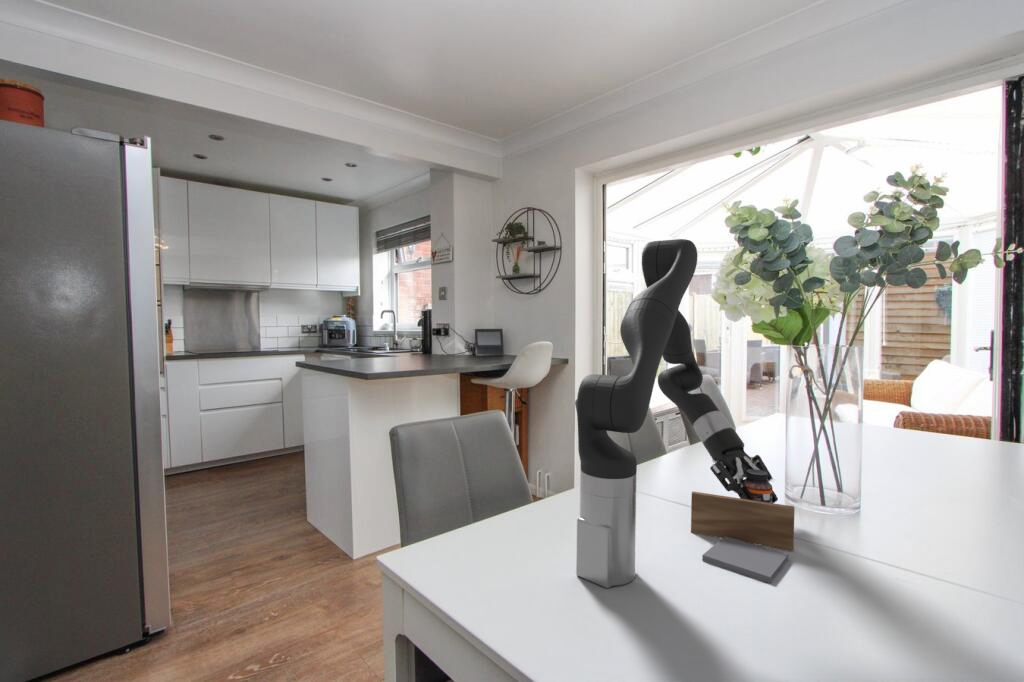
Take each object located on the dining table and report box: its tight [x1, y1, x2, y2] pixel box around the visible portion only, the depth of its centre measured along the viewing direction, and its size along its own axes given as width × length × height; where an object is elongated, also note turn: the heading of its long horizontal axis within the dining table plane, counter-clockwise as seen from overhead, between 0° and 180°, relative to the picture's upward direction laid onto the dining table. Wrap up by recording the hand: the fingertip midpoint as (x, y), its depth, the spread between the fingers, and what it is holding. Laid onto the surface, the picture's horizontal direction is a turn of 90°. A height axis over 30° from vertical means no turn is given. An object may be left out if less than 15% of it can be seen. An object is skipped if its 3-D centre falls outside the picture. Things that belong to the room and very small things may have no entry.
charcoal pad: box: [702, 536, 789, 584], centre depth 86 cm, size 11×11×1 cm
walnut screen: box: [690, 491, 796, 552], centre depth 94 cm, size 1×18×8 cm, turn 64°
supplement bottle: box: [743, 469, 773, 503], centre depth 102 cm, size 6×6×11 cm
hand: (763, 504), depth 100 cm, fingers closed on supplement bottle, 6 cm apart
